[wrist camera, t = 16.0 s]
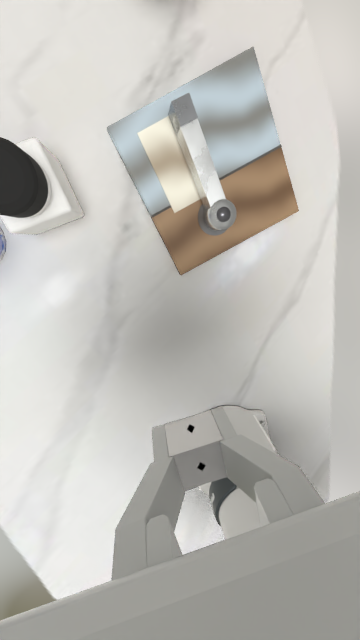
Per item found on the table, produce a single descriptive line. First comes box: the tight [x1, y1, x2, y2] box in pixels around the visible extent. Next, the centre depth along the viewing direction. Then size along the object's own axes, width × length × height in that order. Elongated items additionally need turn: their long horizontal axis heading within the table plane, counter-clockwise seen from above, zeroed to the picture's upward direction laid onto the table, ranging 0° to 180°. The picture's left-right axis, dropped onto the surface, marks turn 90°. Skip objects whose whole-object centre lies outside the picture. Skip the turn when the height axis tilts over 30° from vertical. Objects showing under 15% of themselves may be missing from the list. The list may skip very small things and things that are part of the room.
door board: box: [107, 47, 299, 275], centre depth 33 cm, size 20×20×1 cm
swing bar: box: [168, 93, 236, 230], centre depth 30 cm, size 15×4×3 cm, turn 25°
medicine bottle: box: [0, 137, 84, 235], centre depth 25 cm, size 7×7×12 cm
